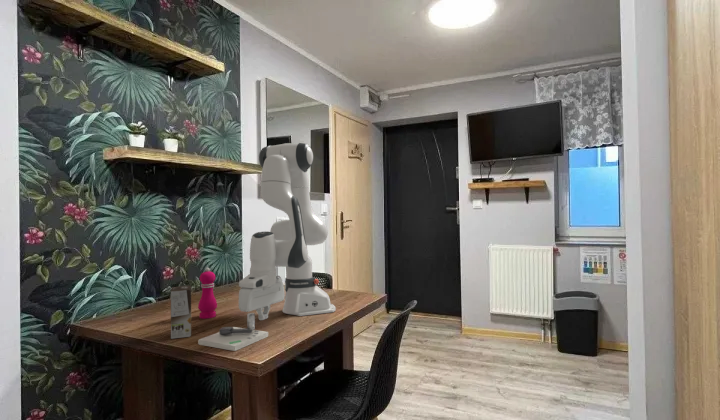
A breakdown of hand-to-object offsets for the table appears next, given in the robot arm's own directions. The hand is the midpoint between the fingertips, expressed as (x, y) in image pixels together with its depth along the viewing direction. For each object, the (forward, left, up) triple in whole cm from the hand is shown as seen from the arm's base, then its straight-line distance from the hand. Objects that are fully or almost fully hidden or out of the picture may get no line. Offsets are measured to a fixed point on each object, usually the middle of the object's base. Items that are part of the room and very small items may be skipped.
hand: (263, 319), depth 133 cm
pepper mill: (+23, -30, -5) cm, 38 cm away
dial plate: (+9, +5, -5) cm, 12 cm away
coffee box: (+28, -7, -5) cm, 29 cm away
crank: (+8, +3, -3) cm, 10 cm away
